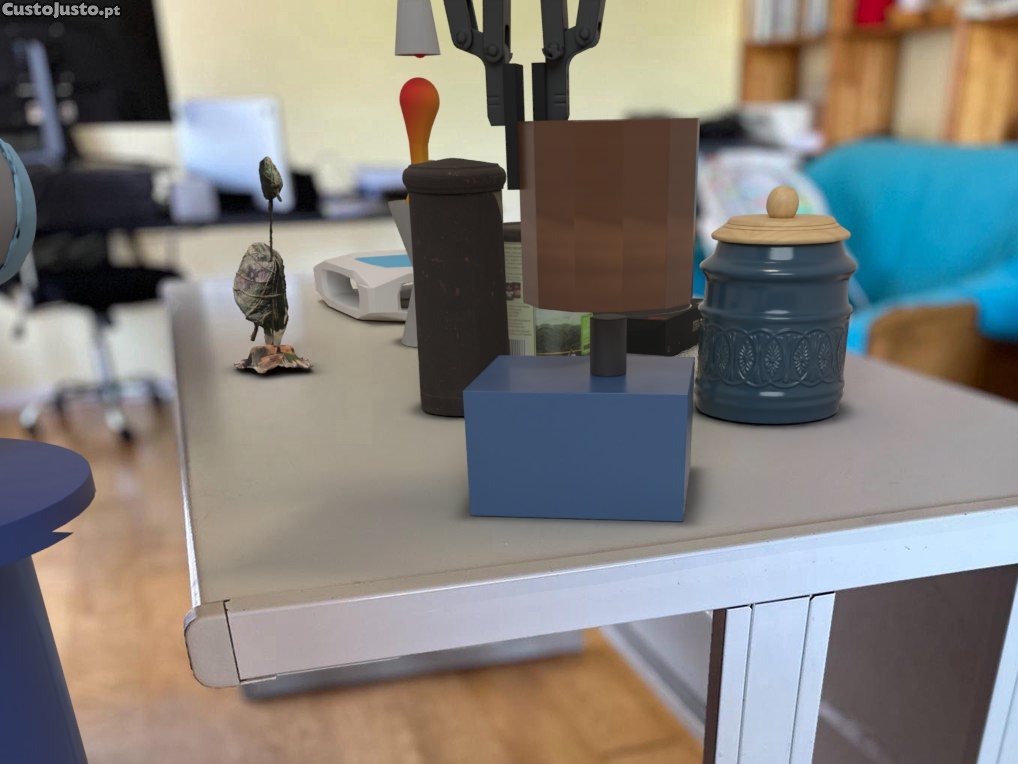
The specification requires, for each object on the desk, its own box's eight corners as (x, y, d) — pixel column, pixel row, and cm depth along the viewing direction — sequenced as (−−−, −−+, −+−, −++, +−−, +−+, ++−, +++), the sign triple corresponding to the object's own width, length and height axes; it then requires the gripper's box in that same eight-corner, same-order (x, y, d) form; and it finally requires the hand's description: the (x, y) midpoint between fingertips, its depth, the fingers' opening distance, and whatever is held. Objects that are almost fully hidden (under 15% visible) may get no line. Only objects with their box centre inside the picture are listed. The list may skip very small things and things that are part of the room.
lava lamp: (456, 349, 125) (432, -24, 107) (386, 345, 127) (352, -18, 110) (487, 336, 132) (470, -15, 114) (421, 333, 135) (394, -10, 117)
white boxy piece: (448, 290, 169) (446, 246, 166) (522, 313, 147) (521, 263, 144) (315, 301, 161) (310, 255, 158) (372, 327, 139) (367, 274, 136)
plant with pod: (305, 356, 123) (279, 154, 113) (318, 375, 113) (290, 156, 103) (231, 362, 120) (198, 156, 110) (238, 381, 111) (202, 158, 101)
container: (532, 401, 101) (525, 155, 91) (482, 422, 94) (468, 159, 84) (453, 393, 104) (438, 156, 94) (399, 413, 97) (377, 160, 87)
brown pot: (511, 312, 66) (504, 121, 61) (540, 288, 75) (536, 121, 70) (687, 313, 64) (694, 117, 59) (695, 289, 73) (702, 117, 68)
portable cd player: (585, 327, 137) (584, 293, 135) (714, 335, 130) (716, 299, 128) (524, 349, 124) (523, 312, 122) (664, 359, 117) (665, 320, 115)
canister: (664, 412, 96) (671, 188, 87) (742, 387, 104) (756, 180, 96) (795, 434, 89) (817, 191, 80) (867, 405, 97) (894, 183, 88)
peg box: (470, 515, 72) (458, 331, 66) (503, 466, 82) (496, 302, 76) (683, 521, 70) (690, 332, 64) (690, 470, 80) (697, 303, 74)
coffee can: (601, 369, 113) (601, 219, 106) (585, 390, 104) (584, 228, 97) (505, 367, 115) (499, 219, 108) (481, 388, 106) (472, 228, 99)
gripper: (658, -319, 57) (649, 183, 69) (400, -300, 59) (434, 187, 71) (648, -374, 51) (639, 190, 63) (359, -350, 53) (404, 193, 65)
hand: (531, 187), depth 67 cm, fingers closed on brown pot
